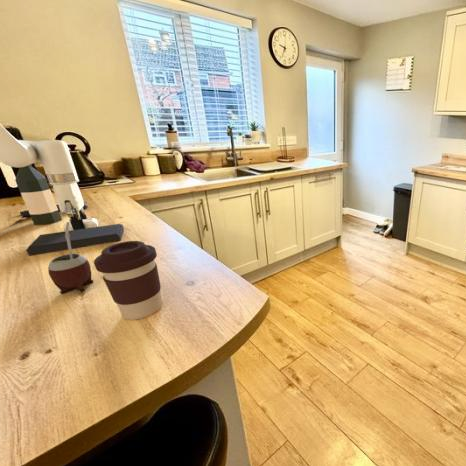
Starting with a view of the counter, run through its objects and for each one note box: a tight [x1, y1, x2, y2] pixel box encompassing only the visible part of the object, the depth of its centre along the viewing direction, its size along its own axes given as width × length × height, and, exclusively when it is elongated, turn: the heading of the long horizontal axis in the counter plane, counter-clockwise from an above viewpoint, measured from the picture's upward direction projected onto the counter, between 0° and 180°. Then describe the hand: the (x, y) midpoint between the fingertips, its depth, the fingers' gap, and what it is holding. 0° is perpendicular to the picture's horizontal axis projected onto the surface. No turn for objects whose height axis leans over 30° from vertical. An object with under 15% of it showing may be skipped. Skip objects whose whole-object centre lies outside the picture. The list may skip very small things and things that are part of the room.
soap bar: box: [62, 217, 99, 232], centre depth 105 cm, size 5×9×3 cm, turn 129°
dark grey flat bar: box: [26, 223, 125, 257], centre depth 95 cm, size 22×12×2 cm, turn 122°
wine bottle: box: [14, 164, 63, 226], centre depth 107 cm, size 8×8×30 cm
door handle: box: [19, 200, 88, 219], centre depth 124 cm, size 3×20×16 cm
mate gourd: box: [47, 221, 94, 295], centre depth 68 cm, size 8×8×15 cm
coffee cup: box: [93, 240, 163, 321], centre depth 59 cm, size 10×10×15 cm
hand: (81, 227), depth 105 cm, fingers closed on soap bar, 5 cm apart
